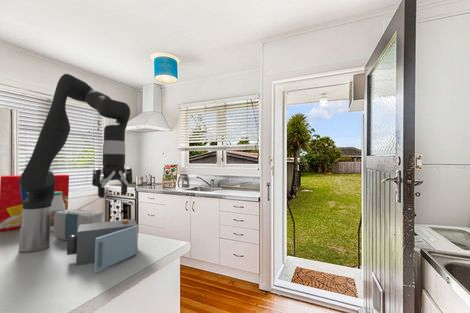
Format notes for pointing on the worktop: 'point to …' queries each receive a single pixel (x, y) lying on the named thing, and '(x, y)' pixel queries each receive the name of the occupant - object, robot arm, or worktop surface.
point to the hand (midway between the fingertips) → (113, 196)
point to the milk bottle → (56, 207)
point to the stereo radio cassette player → (73, 221)
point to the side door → (115, 247)
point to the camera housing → (93, 238)
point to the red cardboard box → (21, 199)
